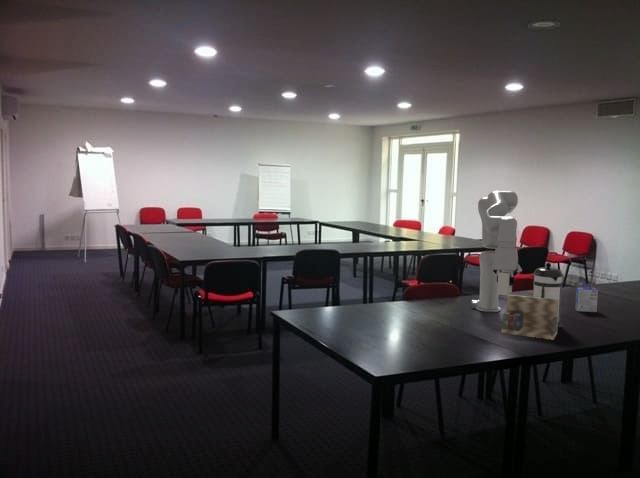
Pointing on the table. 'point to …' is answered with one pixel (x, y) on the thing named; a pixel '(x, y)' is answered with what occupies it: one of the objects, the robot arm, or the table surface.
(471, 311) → the table surface
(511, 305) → the bookshelf
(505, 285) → the boxed book
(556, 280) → the coffee press
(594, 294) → the ink cartridge box
